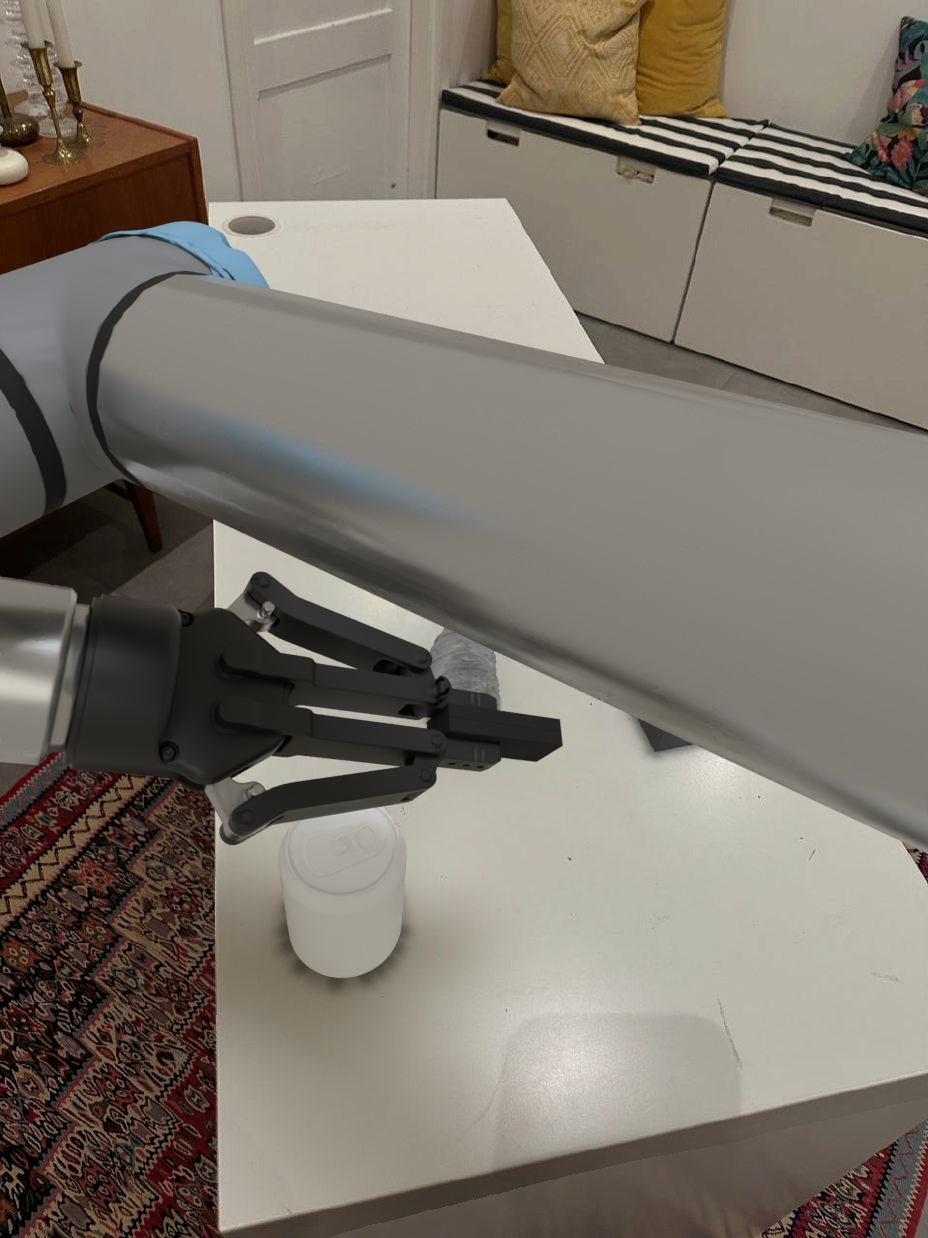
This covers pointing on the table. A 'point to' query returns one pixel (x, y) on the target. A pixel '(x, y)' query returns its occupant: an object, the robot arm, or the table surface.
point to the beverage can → (344, 890)
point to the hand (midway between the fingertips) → (547, 740)
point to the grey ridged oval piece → (465, 664)
